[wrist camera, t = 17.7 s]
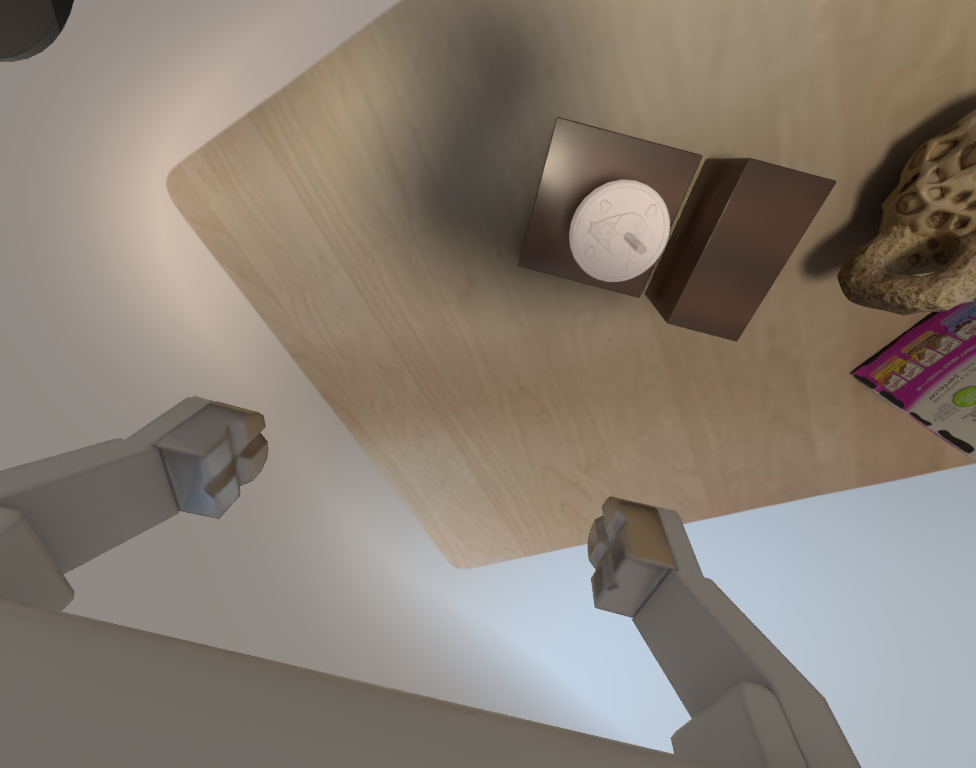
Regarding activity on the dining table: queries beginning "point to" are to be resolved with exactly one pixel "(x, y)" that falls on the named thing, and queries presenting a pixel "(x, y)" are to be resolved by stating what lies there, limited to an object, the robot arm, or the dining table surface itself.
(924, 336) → the candy bar box
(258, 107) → the dining table surface
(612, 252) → the smoothie
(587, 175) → the step shelf
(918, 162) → the teapot
